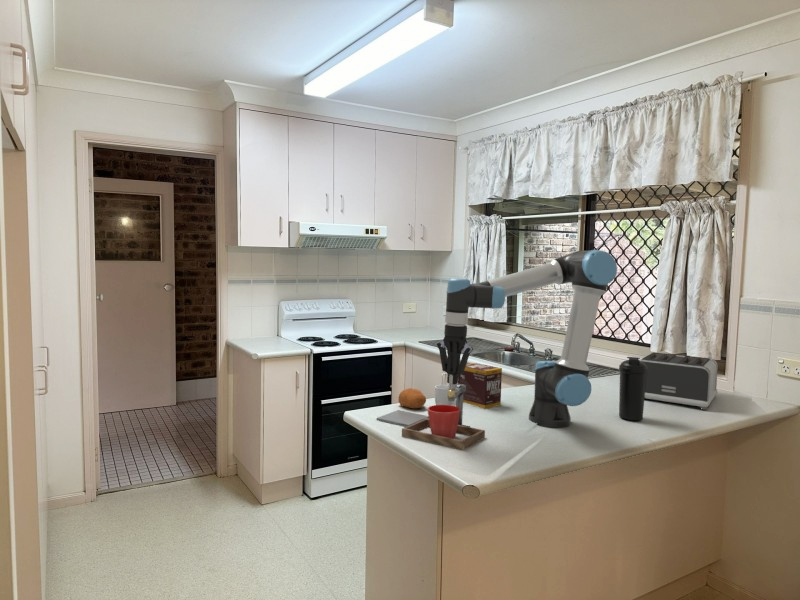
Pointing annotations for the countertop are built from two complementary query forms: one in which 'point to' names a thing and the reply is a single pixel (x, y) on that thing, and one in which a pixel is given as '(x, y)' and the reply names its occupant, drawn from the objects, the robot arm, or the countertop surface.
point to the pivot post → (460, 404)
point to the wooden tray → (413, 433)
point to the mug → (443, 395)
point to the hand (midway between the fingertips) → (451, 393)
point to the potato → (412, 398)
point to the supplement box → (481, 385)
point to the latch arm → (456, 391)
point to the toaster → (681, 379)
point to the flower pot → (444, 420)
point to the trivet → (402, 418)
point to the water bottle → (632, 388)
